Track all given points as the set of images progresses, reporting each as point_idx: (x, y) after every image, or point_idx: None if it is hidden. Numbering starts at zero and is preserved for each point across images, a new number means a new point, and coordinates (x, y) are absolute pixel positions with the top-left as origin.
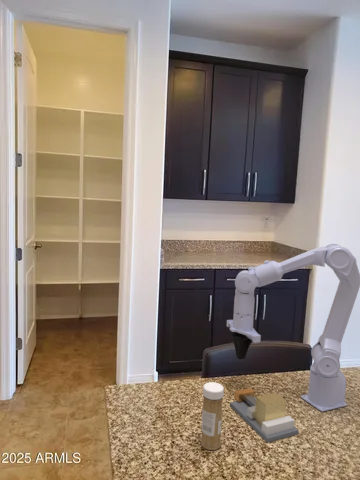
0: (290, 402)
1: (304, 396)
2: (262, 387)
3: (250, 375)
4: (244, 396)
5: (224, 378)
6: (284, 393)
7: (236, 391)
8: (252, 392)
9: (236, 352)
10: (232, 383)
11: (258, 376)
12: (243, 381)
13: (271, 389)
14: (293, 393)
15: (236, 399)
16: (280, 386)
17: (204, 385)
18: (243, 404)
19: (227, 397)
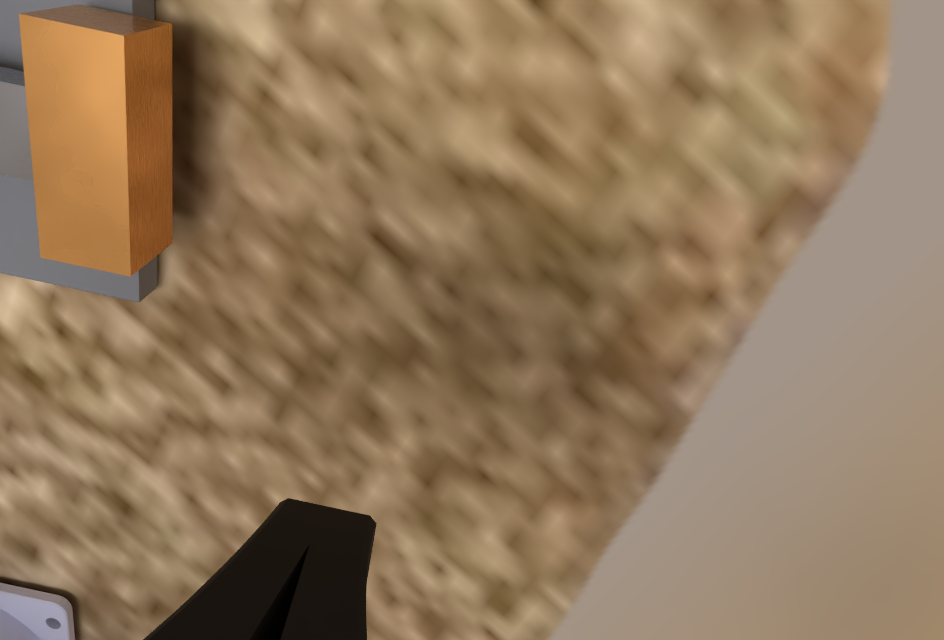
0: (36, 486)
1: (44, 618)
2: (339, 495)
3: (582, 576)
4: (20, 85)
5: (707, 327)
6: (175, 556)
7: (107, 49)
8: (40, 227)
9: (326, 584)
10: (561, 320)
11: (523, 613)
12: (528, 442)
13: None
14: (150, 605)
15: (121, 14)
16: None
17: None
18: None
19: (334, 34)
